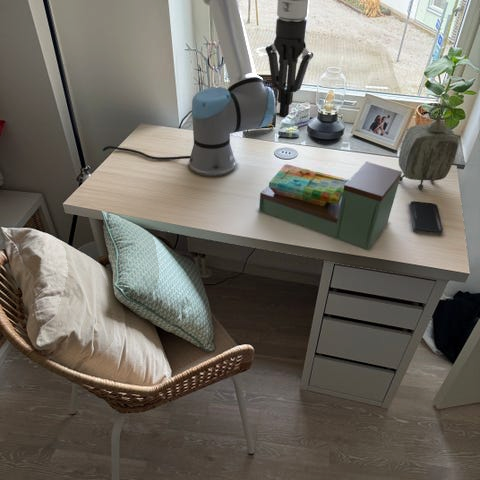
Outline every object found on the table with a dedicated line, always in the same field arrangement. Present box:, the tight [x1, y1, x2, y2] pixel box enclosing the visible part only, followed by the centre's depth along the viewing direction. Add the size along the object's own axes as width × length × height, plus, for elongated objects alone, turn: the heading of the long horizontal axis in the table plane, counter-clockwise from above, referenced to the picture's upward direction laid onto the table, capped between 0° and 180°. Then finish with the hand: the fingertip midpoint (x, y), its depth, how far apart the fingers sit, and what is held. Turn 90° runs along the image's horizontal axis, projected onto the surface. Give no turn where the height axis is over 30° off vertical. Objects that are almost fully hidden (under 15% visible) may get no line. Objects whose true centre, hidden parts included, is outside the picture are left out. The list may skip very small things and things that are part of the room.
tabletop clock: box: [398, 104, 460, 190], centre depth 140 cm, size 14×9×25 cm, turn 91°
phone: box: [409, 200, 444, 236], centre depth 135 cm, size 8×1×15 cm
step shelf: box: [258, 161, 403, 250], centre depth 130 cm, size 34×15×16 cm, turn 58°
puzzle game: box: [268, 163, 350, 206], centre depth 131 cm, size 12×5×20 cm
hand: (283, 115), depth 131 cm, fingers closed
